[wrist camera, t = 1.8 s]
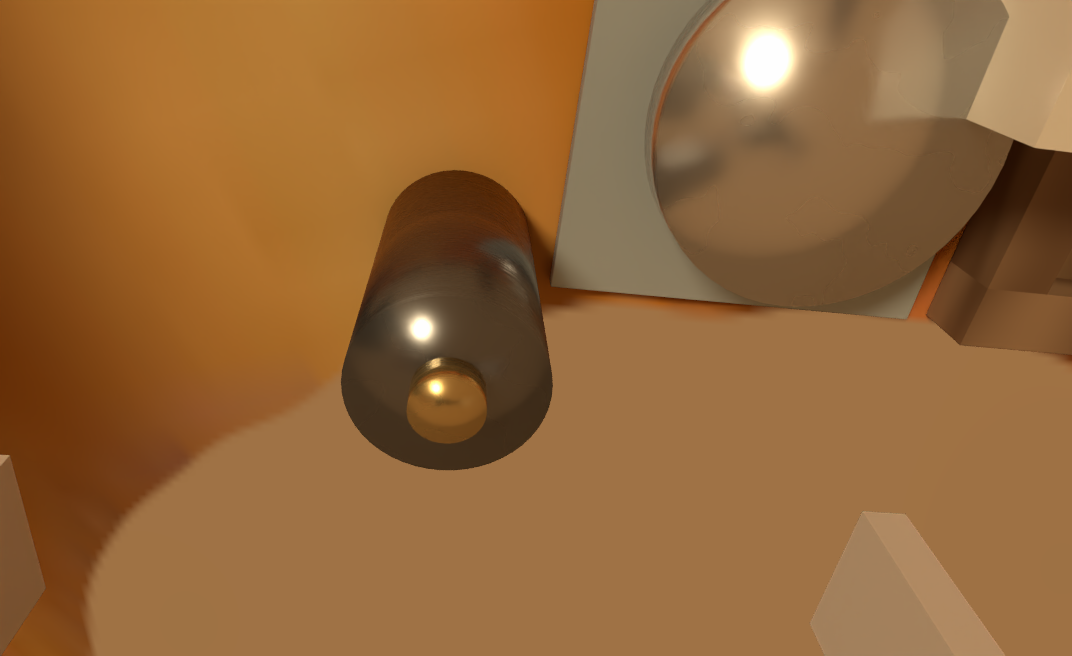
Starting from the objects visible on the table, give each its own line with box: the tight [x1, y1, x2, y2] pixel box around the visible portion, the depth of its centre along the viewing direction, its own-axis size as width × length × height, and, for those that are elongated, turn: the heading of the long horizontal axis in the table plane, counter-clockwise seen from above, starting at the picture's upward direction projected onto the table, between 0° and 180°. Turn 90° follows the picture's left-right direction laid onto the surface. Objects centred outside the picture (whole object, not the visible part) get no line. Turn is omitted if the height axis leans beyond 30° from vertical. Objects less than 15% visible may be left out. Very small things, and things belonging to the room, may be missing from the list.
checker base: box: [550, 0, 936, 319], centre depth 21 cm, size 12×12×1 cm
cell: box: [341, 170, 553, 470], centre depth 18 cm, size 4×4×9 cm
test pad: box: [644, 0, 1013, 307], centre depth 18 cm, size 9×9×2 cm
